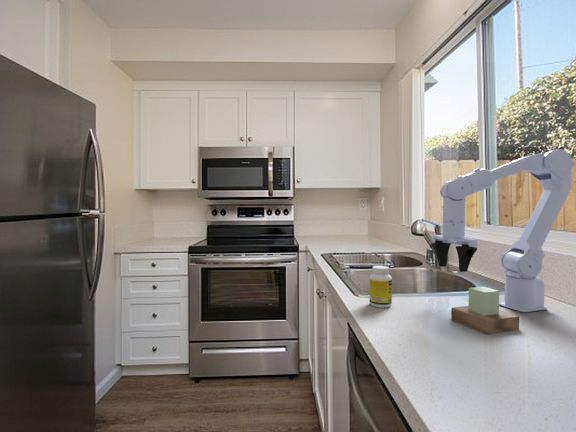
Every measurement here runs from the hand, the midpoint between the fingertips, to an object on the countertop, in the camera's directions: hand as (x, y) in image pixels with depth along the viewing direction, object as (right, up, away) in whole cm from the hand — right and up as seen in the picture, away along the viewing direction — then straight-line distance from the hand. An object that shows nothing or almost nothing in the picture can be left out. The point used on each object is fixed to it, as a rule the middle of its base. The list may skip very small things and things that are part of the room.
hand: (452, 268), depth 96 cm
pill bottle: (-21, -11, 0) cm, 23 cm away
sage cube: (0, -8, -16) cm, 18 cm away
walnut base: (0, -11, -15) cm, 19 cm away
